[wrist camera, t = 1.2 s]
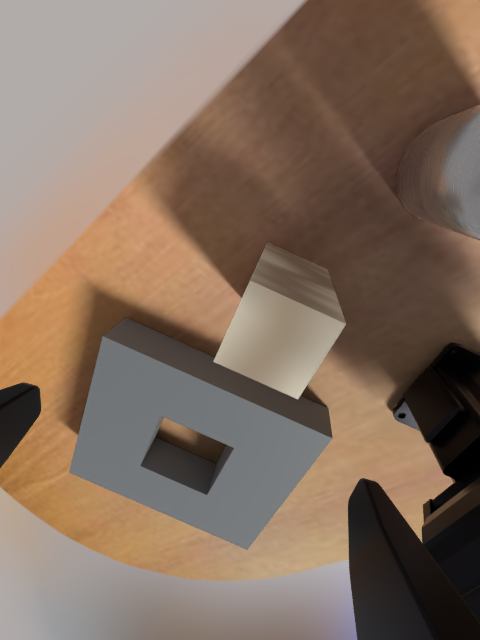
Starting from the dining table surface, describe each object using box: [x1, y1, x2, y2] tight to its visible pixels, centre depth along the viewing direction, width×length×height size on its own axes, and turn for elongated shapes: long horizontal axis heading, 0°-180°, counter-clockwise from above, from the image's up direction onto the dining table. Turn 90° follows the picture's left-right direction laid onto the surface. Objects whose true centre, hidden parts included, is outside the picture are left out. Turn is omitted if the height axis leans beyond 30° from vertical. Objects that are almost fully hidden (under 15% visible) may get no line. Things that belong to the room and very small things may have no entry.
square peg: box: [213, 242, 346, 399], centre depth 17 cm, size 4×4×8 cm
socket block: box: [69, 317, 332, 550], centre depth 25 cm, size 16×14×3 cm
